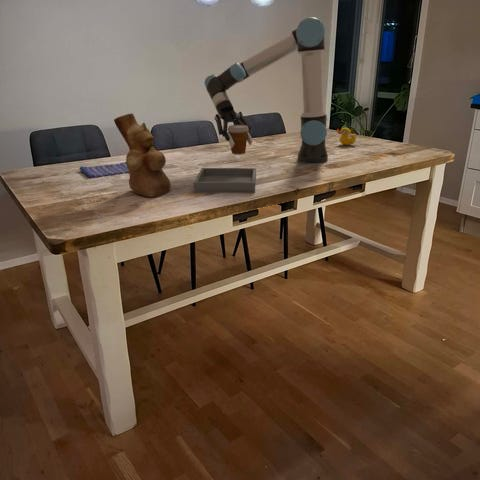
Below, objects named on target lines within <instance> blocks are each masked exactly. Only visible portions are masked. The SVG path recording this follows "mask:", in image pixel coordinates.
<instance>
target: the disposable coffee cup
mask: <svg viewBox="0 0 480 480" xmlns="http://www.w3.org/2000/svg"><path fill="white" fill-rule="evenodd" d="M248 130H249V129H248V126H246V125H236V124H232V125H228V126H227V133H228V132H229V133H230V135H231V137H232V139H233V141H234V143H235V144H234V146H233V148H231V147H230V150H231V154H232V155H244V154H246V152H247V151H246V150H247V143H248V141H247V133H248Z"/></svg>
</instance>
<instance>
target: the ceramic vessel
mask: <svg viewBox="0 0 480 480" xmlns="http://www.w3.org/2000/svg"><path fill="white" fill-rule="evenodd" d="M136 119H137V118H135V115H134V113H132V112H131V113H126V114H123V115H121V116H117V117H116V118H114V119H113V122H114V125H115V126H116V129H118V131H119V133H120V135H121V137H123V139H124V141H125V143H126V145H127V146H128V149H129V151H128V153H127V154H126V158H125V162H126V165H127V168H128V170H129V173H128V174H129V180H128V185H129V188H130V189H131V190H132V191H133V192H134V194H136V195H138V196H143V197H149V198H156V197H159V196H162V195H165V194H167V193H169V192H170V191H171V190H170V189H171V187H172V186H171V181H170V179H169V177H168V176H167V174H166V173H165V171H164V170H163V168H164V167H165V166H166V157H165V154H164V153H163V152H162V151H159V150H156V148H155V147H154V139H155V138H154V136H153V135H152V133H151V131H150V129H149V128H148V127H147V125H146V123H145V122H142V123H141V124H139V123H138V121H137V120H136Z"/></svg>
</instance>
